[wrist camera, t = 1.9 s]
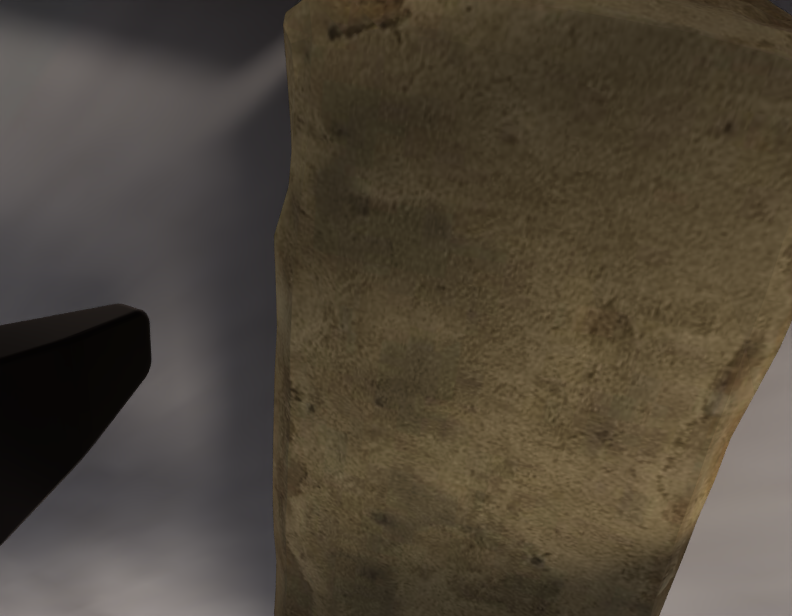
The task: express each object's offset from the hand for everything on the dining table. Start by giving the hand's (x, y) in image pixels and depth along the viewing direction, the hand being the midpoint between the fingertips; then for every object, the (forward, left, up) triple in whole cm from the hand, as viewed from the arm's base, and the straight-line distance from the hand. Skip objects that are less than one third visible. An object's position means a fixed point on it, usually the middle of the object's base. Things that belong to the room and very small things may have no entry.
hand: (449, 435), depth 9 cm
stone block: (0, 0, -5) cm, 5 cm away
